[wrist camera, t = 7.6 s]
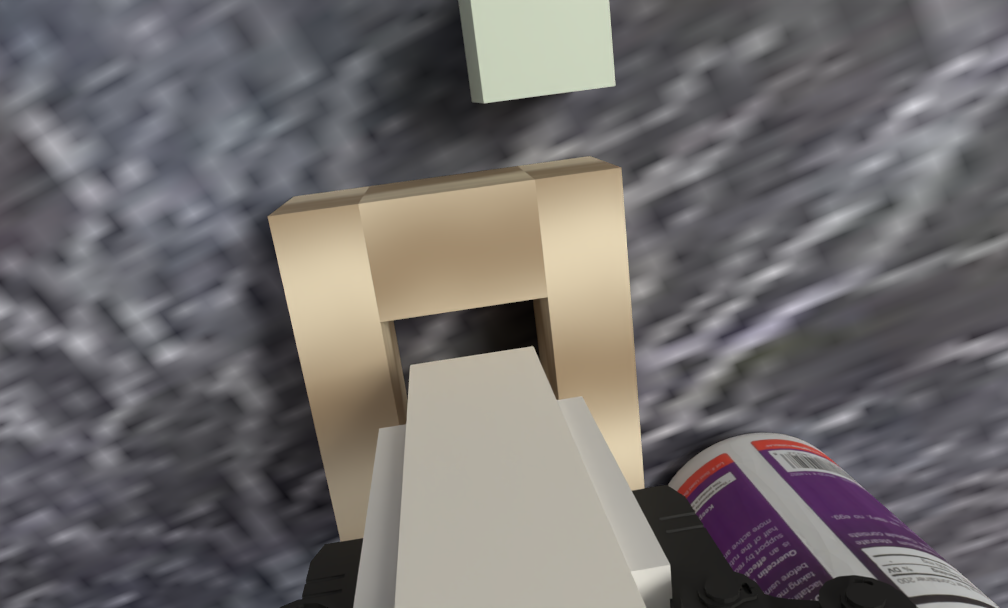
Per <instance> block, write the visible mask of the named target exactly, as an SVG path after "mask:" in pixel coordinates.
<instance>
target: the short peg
mask: <svg viewBox="0 0 1008 608" xmlns="http://www.w3.org/2000/svg"><path fill="white" fill-rule="evenodd" d="M458 2H459V10H460V17H461V25H462V32H463V40H464V47H465V55H466V62H467V70H468V77H469V85H470V92H471V99H472V102H475V103H490V102H498V101H505V100H513V99H520V98H528V97H535V96H543V95H551V94H558V93H566V92H573V91H581V90H588V89H596V88H603V87H611V86H615V74H614V61H613V47H612V34H611V21H610V8H609V0H458Z"/></svg>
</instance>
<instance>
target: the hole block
mask: <svg viewBox="0 0 1008 608" xmlns="http://www.w3.org/2000/svg"><path fill="white" fill-rule="evenodd" d="M268 220H269V225H270V229H271V234H272V238H273V243H274V247H275V252H276V256H277V260H278V265H279V269H280V274H281V278H282V283H283V287H284V292H285V296H286V300H287V305H288V309H289V314H290V318H291V323H292V327H293V332H294V336H295V340H296V345H297V349H298V354H299V358H300V363H301V367H302V372H303V376H304V381H305V385H306V389H307V394H308V398H309V403H310V407H311V412H312V416H313V421H314V425H315V429H316V434H317V438H318V443H319V447H320V452H321V456H322V461H323V465H324V470H325V474H326V478H327V483H328V487H329V492H330V496H331V501H332V505H333V510H334V514H335V518H336V523H337V527H338V532H339V536H340V541H341V542H342V541H348V540H354V539H360V538H363V537H364V530H365V523H366V516H367V509H368V502H369V495H370V489H371V482H372V475H373V468H374V461H375V454H376V447H377V440H378V433H379V428H385V427H392V426H398V425H404V424H406V421H407V405H408V399H407V394H406V388H405V382H404V377H403V371H402V366H401V360H400V355H399V349H398V343H397V338H396V332H395V327H394V321H393V320H398V319H405V318H411V317H418V316H425V315H432V314H438V313H445V312H452V311H458V310H465V309H472V308H478V307H485V306H492V305H499V304H505V303H512V302H519V301H525V300H532V299H533V304H534V313H535V322H536V330H537V339H538V348H539V356H540V363H541V365H542V368H543V370H544V372H545V374H546V377H547V379H548V381H549V384H550V386H551V388H552V391H553V393H554V395H555V398H556V400H561V399H567V398H574V397H580V396H582V397H583V399H584V401H585V403H586V405H587V407H588V408H589V410H590V412H591V414H592V416H593V418H594V420H595V422H596V424H597V426H598V428H599V429H600V431H601V433H602V435H603V437H604V439H605V441H606V443H607V445H608V447H609V449H610V450H611V452H612V454H613V456H614V458H615V460H616V462H617V464H618V466H619V468H620V470H621V472H622V473H623V475H624V477H625V479H626V481H627V483H628V485H629V487H630V489H631V491H633V490H639V489H644V475H643V461H642V447H641V434H640V420H639V406H638V392H637V378H636V365H635V351H634V337H633V323H632V309H631V296H630V282H629V268H628V254H627V240H626V226H625V213H624V199H623V185H622V171H621V167H618V166H615V165H613V164H610V163H607V162H604V161H602V160H599V159H596V158H594V157H591V156H588V157H580V158H573V159H566V160H559V161H551V162H544V163H537V164H529V165H522V166H515V167H507V168H500V169H493V170H485V171H478V172H471V173H463V174H456V175H449V176H441V177H434V178H427V179H419V180H412V181H405V182H397V183H390V184H383V185H375V186H368V187H361V188H353V189H346V190H339V191H331V192H324V193H317V194H309V195H302V196H295V197H293V198H291V199H290V200H289V201H287V202H286V203H285V204H283V205H282V206H281V207H279V208H278V209H277V210H275V211H274V212H273V213H272V214H270V215H269V216H268Z"/></svg>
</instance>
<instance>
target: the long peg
mask: <svg viewBox="0 0 1008 608" xmlns="http://www.w3.org/2000/svg"><path fill="white" fill-rule="evenodd" d="M395 608H646V606H645V603H644V601H643V599H642V597H641V594H640V592H639V590H638V587H637V585H636V583H635V580H634V578H633V576H632V573H631V571H630V569H629V566H628V564H627V562H626V560H625V557H624V555H623V553H622V550H621V548H620V546H619V543H618V541H617V539H616V536H615V534H614V532H613V529H612V527H611V525H610V523H609V520H608V518H607V516H606V513H605V511H604V509H603V506H602V504H601V502H600V499H599V497H598V495H597V492H596V490H595V488H594V485H593V483H592V481H591V479H590V476H589V474H588V472H587V469H586V467H585V465H584V462H583V460H582V458H581V455H580V453H579V451H578V448H577V446H576V444H575V442H574V439H573V437H572V435H571V432H570V430H569V428H568V425H567V423H566V421H565V418H564V416H563V414H562V411H561V409H560V407H559V405H558V402H557V400H556V398H555V395H554V393H553V391H552V388H551V386H550V384H549V381H548V379H547V377H546V374H545V372H544V370H543V368H542V365H541V363H540V361H539V358H538V356H537V354H536V351H535V349H534V347H533V346H531V347H525V348H518V349H512V350H505V351H499V352H492V353H486V354H479V355H473V356H466V357H460V358H453V359H447V360H440V361H434V362H427V363H420V364H414V365H410V374H409V390H408V405H407V421H406V437H405V452H404V468H403V483H402V499H401V515H400V530H399V546H398V562H397V577H396V593H395Z"/></svg>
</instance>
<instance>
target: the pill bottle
mask: <svg viewBox="0 0 1008 608" xmlns="http://www.w3.org/2000/svg"><path fill="white" fill-rule="evenodd" d="M668 486H669V487H671V488H673V489H674V490H676V491H677V492H679V493H680V494H682V495H684V496H685V497H686V499H687V500H688V502H689V503H690V505H691V506H692V508H693V509H694V511H695V514H696V515H697V516H698V517H699V519H700V520H701V522H702V523H703V526H704V528H706V529H707V531H708V532H709V534H710V536H711V537H712V539H713V540H714V542H715V543H716V545H717V546H718V548H719V549H720V551H721V552H722V554H723V556H724V557H725V559H726V560H727V562H728V563H729V565H730V566H731V568H732V569H733V571H735V572H738V573H741V574H744V575H746V576H747V577H749V578H750V579H752V580H753V581H755V582H756V583H757V584H758V585H759V587H760V588H761V590H762V591H763V592H764V594H767V595H770V596H774V597H779V598H786V599H800V600H815V601H819V590H820V588H821V587H822V586H823V585H824V583H825V582H826V581H829V580H831V579H833V578H836V577H838V576H849V575H858V576H864V577H870V578H874V579H877V580H879V581H882V582H884V583H887V584H890V585H891V586H892V587H894V588H895V589H897V590H898V591H900V592H901V593H903V594H904V595H905V596H906V597H907V598H908V599H909V600H910V601H911V602H912V603H914V604H915V605H916V606H917V607H918V608H1000V607H998V606H997V605H996V604H995V603H994V602H993V601H991V600H990V599H989V598H988V597H987V596H986V595H985V594H983V593H982V592H981V591H980V590H979V589H978V588H977V587H976V586H974V585H973V584H972V583H971V582H970V581H969V580H967V579H966V578H965V577H964V576H963V575H962V574H961V573H960V572H958V571H957V570H956V569H955V568H954V567H953V566H952V565H950V564H949V563H948V562H947V561H946V560H945V559H944V558H942V557H941V556H940V555H939V554H938V553H937V552H936V551H935V550H933V549H932V548H931V547H930V546H929V545H928V544H927V543H925V542H924V541H923V540H922V539H921V538H920V537H919V536H917V535H916V534H915V533H914V532H913V531H912V530H911V529H909V528H908V527H907V526H906V525H905V524H904V523H903V522H902V521H900V520H899V519H898V518H897V517H896V516H895V515H894V514H892V513H891V512H890V511H889V510H888V509H887V508H886V507H885V506H883V505H882V504H881V503H880V502H879V501H878V500H877V499H875V498H874V497H873V496H872V495H871V494H870V493H869V492H867V491H866V490H865V489H864V488H863V487H862V486H861V485H859V484H858V483H857V482H856V481H855V480H854V479H853V478H852V477H850V476H849V475H848V474H847V473H846V472H845V471H844V470H843V469H842V468H840V467H839V466H838V465H837V464H836V463H835V462H834V461H832V460H831V459H830V458H829V457H828V456H826V455H825V454H824V453H823V452H821V451H820V450H819V449H817V448H816V447H814V446H812V445H811V444H809V443H807V442H805V441H803V440H800V439H797V438H795V437H791V436H787V435H783V434H777V433H750V434H744V435H739V436H735V437H731V438H728V439H725V440H723V441H720V442H718V443H716V444H714V445H712V446H710V447H708V448H706V449H705V450H703V451H702V452H700V453H699V454H697V455H696V456H695V457H693V458H692V459H691V460H689V461H688V462H687V463H686V464H685V465H684V466H683V467H682V468H681V469H680V470H679V471H678V472H677V473H676V475H675V476H674V477H673V478H672V480H671V481H670V483H669V484H668Z"/></svg>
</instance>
